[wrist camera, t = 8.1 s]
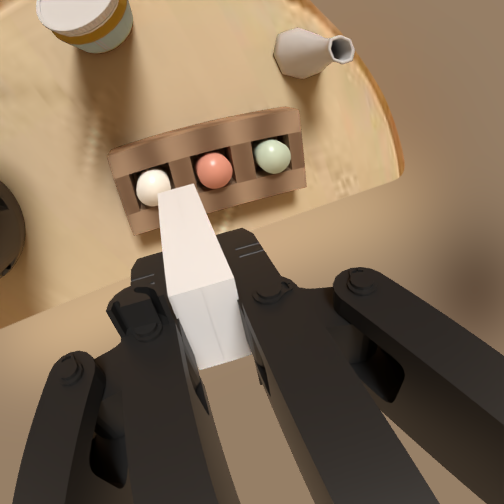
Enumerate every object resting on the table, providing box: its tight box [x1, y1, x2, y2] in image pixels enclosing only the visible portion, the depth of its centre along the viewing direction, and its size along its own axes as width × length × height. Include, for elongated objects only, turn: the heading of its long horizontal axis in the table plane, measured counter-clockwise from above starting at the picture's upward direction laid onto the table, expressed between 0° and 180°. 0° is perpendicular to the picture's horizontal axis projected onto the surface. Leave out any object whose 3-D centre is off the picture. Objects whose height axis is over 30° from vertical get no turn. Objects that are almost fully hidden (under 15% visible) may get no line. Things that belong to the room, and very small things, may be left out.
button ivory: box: [136, 166, 171, 206], centre depth 34 cm, size 4×4×4 cm
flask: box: [273, 27, 355, 79], centre depth 29 cm, size 7×7×10 cm
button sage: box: [252, 137, 291, 174], centre depth 36 cm, size 4×4×4 cm
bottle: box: [36, 0, 133, 54], centre depth 19 cm, size 7×7×15 cm
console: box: [107, 107, 307, 236], centre depth 36 cm, size 22×10×4 cm, turn 99°
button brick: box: [194, 150, 232, 189], centre depth 35 cm, size 4×4×4 cm
